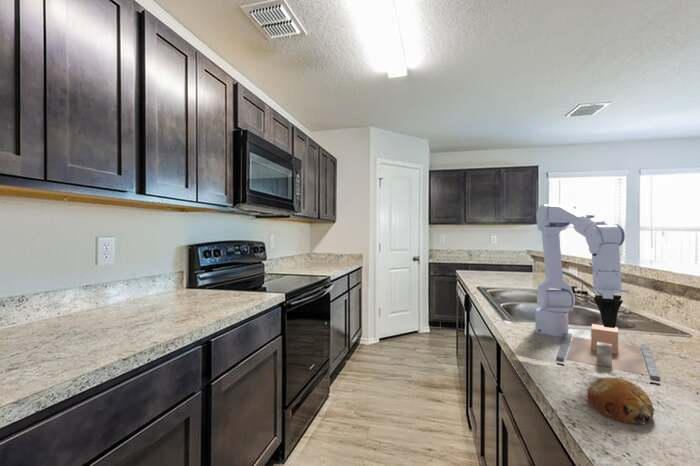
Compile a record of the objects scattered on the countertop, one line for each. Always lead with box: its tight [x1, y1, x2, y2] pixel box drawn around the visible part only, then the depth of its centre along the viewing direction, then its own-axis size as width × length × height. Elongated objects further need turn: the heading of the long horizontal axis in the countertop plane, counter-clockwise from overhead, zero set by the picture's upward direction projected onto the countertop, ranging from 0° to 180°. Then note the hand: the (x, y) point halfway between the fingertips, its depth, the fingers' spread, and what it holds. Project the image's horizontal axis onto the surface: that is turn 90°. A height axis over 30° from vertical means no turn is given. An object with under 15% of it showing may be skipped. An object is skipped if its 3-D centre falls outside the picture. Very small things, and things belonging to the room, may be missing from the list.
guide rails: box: [555, 332, 661, 386], centre depth 91 cm, size 20×26×2 cm
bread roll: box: [586, 376, 655, 425], centre depth 65 cm, size 10×10×8 cm
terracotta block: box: [590, 323, 619, 354], centre depth 95 cm, size 6×6×6 cm
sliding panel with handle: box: [565, 336, 648, 376], centre depth 92 cm, size 16×24×6 cm, turn 142°
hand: (609, 324), depth 84 cm, fingers open, 7 cm apart
